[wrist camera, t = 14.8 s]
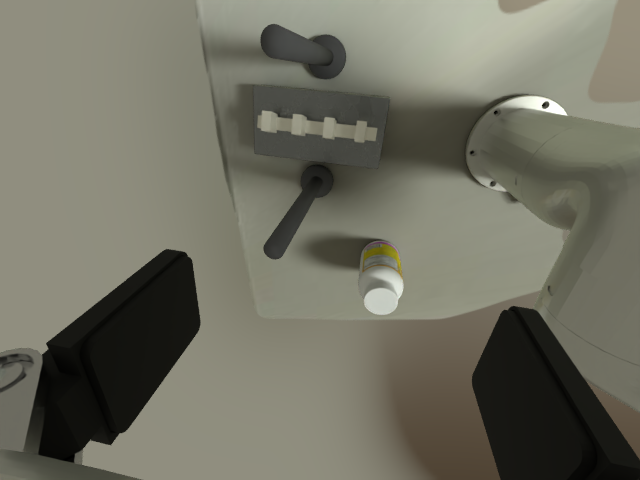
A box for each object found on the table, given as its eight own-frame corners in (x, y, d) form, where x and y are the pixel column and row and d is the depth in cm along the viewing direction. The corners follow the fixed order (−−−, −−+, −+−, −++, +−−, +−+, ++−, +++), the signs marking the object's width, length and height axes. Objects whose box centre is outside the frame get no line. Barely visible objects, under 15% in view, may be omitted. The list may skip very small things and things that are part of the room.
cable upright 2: (339, 183, 49) (310, 255, 29) (316, 200, 51) (273, 280, 31) (319, 158, 48) (273, 215, 28) (296, 177, 50) (238, 244, 30)
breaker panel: (389, 96, 42) (390, 98, 39) (378, 162, 47) (378, 169, 43) (263, 84, 44) (253, 85, 41) (263, 148, 49) (254, 153, 45)
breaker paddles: (377, 125, 41) (378, 122, 37) (374, 144, 41) (375, 143, 38) (260, 112, 42) (251, 109, 39) (259, 131, 43) (250, 129, 40)
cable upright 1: (353, 59, 41) (324, 44, 21) (325, 87, 43) (274, 97, 23) (329, 26, 40) (274, -24, 20) (301, 56, 42) (226, 38, 22)
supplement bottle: (388, 277, 56) (391, 327, 44) (354, 263, 55) (348, 309, 44) (407, 248, 52) (414, 294, 41) (371, 232, 52) (368, 274, 41)
